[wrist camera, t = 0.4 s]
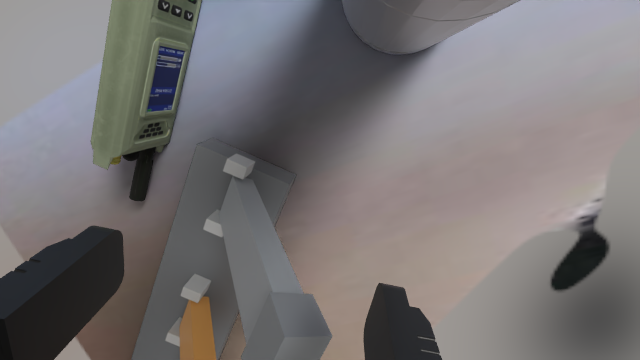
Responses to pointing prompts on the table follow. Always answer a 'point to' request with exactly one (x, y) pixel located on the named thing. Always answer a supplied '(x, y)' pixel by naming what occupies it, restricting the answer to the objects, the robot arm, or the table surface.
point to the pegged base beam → (204, 248)
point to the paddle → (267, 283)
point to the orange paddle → (197, 332)
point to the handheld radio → (141, 82)
